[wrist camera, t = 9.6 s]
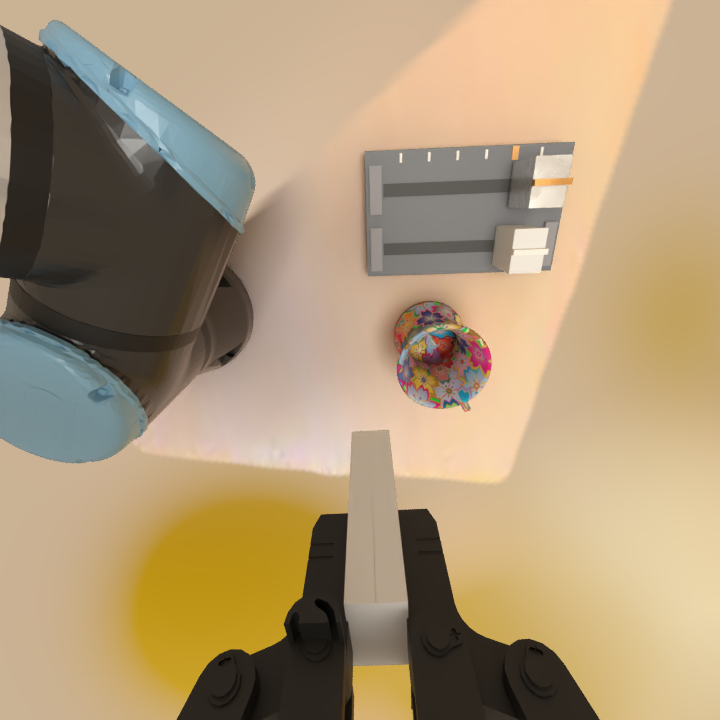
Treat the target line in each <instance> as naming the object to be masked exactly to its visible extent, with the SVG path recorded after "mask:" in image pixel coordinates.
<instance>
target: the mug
mask: <svg viewBox="0 0 720 720" xmlns="http://www.w3.org/2000/svg"><path fill="white" fill-rule="evenodd" d="M394 337H395V344H396V347H397V349H398V351H399V353H400V356H399V359H398V364H397V376H398V380H399V383H400V386H401V387H402V389H403V391H404V392H405V393H406V395H407V396H408V397H410V398H411V399H412V400H413V401H415V402H416V403H418V404H420V405H423V406H426V407H429V408H437V409H444V408H451V407H455V406H458V405H461V406H462V408H463V410H464V411H465V412H467V411H469V410H470V409H471V408H470V406H469V404H468V402H467V401H469V400H470V399H472V398H473V397H474V396H476V395H477V394H478V393H479V392H480V391H481V389H482V388H483V387H484V385H485V384H486V382H487V380H488V378H489V375H490V371H491V354H490V351H489V348H488V346H487V344H486V343H485V341H484V340H483V339H482V338H481V337H480V336H479V335H478V334H477V333H476V332H474V331H473V330H471V329H469V328H467V327H464V326H463V325H462V322H461V319H460V317H459V316H458V314H457V313H456V312H455V311H454V310H453V309H452V308H450V307H449V306H447V305H445V304H442V303H438V302H425V303H420V304H418V305H415V306H413V307H412V308H410V309H409V310H407V311H406V312H405V313H404V314H403V315H402V317H401V318H400V319H399V321H398V323H397V326H396V329H395V336H394Z"/></svg>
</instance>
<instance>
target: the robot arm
mask: <svg viewBox="0 0 720 720" xmlns="http://www.w3.org/2000/svg"><path fill="white" fill-rule="evenodd" d="M39 40H40V41H41V42H42V43H43V46H39V45H36V44H34V43H32V42H30V41H29V40H27V39H25V38H23V37H21V36H19V35H18V34H16V33H14V32H12V31H10V30H8V29H6V28H4V27H3V26H1V25H0V277H2V278H10V279H11V280H10V287H9V292H8V300H7V307H6V311H5V312H4V314H3V315H2V316H1V317H0V438H1V439H3V440H5V441H6V442H8V443H10V444H12V445H14V446H15V447H18V448H19V449H22V450H24V451H26V452H29V453H31V454H34V455H36V456H40V457H43V458H46V459H50V460H54V461H59V462H65V463H85V462H89V461H91V462H94V461H100V460H104V459H107V458H109V457H111V456H113V455H115V454H116V453H118V452H119V451H121V450H122V449H123V448H124V447H126V446H127V445H128V444H129V443H130V442H131V441H133V440H134V439H136V438H138V437H140V436H141V435H142V434H143V433H144V432H145V431H146V429H147V427H148V425H149V424H150V423H151V422H152V421H153V420H154V419H155V418H156V417H157V416H158V415H159V414H160V413H161V412H162V411H163V410H164V409H165V408H166V407H167V406H168V405H169V404H170V402H171V401H172V400H173V399H174V398H175V397H176V396H177V395H178V394H179V393H180V392H181V391H182V390H183V389H184V388H185V387H186V386H187V385H188V384H189V383H190V382H191V381H192V380H193V379H194V378H195V377H196V376H197V375H199V374H202V373H205V372H208V371H212V370H215V369H218V368H220V367H222V366H224V365H226V364H227V363H229V362H230V361H231V360H233V359H234V358H235V357H236V356H237V355H238V354H239V352H240V351H241V350H242V349H243V348H244V346H245V345H246V343H247V342H248V340H249V337H250V335H251V331H252V327H253V310H252V305H251V301H250V298H249V296H248V293H247V291H246V289H245V287H244V286H243V284H242V282H241V281H240V280H239V278H238V277H237V276H236V275H235V274H234V272H233V271H232V270H231V269H230V268H228V267H227V266H226V265H227V262H228V260H229V257H230V255H231V252H232V250H233V247H234V245H235V242H236V240H237V237H238V235H239V234H243V232H244V226H243V222H244V220H245V217H246V214H247V211H248V208H249V205H250V202H251V199H252V196H253V193H254V190H255V177H254V173H253V171H252V168H251V166H250V164H249V163H248V161H247V160H246V159H245V158H244V157H243V156H242V155H241V154H239V153H238V152H237V151H236V150H234V149H233V148H232V147H230V146H229V145H228V144H226V143H225V142H224V141H222V140H221V139H220V138H218V137H217V136H216V135H214V134H213V133H212V132H210V131H209V130H207V129H206V128H205V127H204V126H202V125H201V124H199V123H198V122H197V121H195V120H194V119H193V118H191V117H190V116H188V115H187V114H186V113H184V112H183V111H182V110H180V109H179V108H178V107H176V106H175V105H174V104H172V103H171V102H170V101H168V100H167V99H165V98H164V97H163V96H161V95H160V94H159V93H157V92H156V91H155V90H153V89H152V88H150V87H149V86H148V85H146V84H145V83H144V82H142V81H141V80H140V79H138V78H137V77H135V76H134V75H133V74H132V73H130V72H129V71H128V70H126V69H125V68H124V67H122V66H121V65H119V64H118V63H117V62H115V61H114V60H112V59H111V58H110V57H109V56H107V55H106V54H105V53H103V52H102V51H101V50H99V49H98V48H97V47H95V46H94V45H93V44H91V43H90V42H89V41H87V40H86V39H85V38H83V37H82V36H81V35H79V34H78V33H77V32H75V31H74V30H72V29H71V28H70V27H68V26H67V25H66V24H64V23H63V22H60V21H58V20H52V21H50V22H49V23H48V25H47V27H46V29H42V30H40V32H39ZM284 626H285V629H286V633H287V636H286V637H285V638H283V639H282V640H281V641H279V642H278V643H276V644H274V645H272V646H270V647H268V648H265V649H263V650H261V651H258V652H256V653H254V654H251V655H249V654H248V653H246V652H244V651H243V650H236V649H235V650H232V649H231V650H228V651H226V652H223V653H221V654H219V655H218V656H217V657H216V658H214V659H213V660H212V661H211V662H210V663H209V664H208V665H207V666H206V668H205V669H204V671H203V672H202V674H201V675H200V677H199V679H198V680H197V682H196V684H195V686H194V688H193V690H192V692H191V694H190V695H189V697H188V699H187V701H186V703H185V705H184V707H183V709H182V711H181V713H180V714H179V716H178V718H177V720H354V694H353V686H352V678H353V666H369V665H401V664H402V665H404V664H409V670H410V680H411V708H412V709H413V720H599V718H598V716H597V715H596V713H595V712H594V710H593V708H592V707H591V706H590V704H589V702H588V701H587V699H586V697H585V696H584V694H583V693H582V691H581V690H580V688H579V687H578V685H577V683H576V682H575V680H574V679H573V677H572V676H571V674H570V672H569V671H568V670H567V668H566V666H565V665H564V663H563V662H562V661H561V660H560V658H559V657H558V656H557V655H556V654H555V652H553V651H552V650H550V649H549V648H548V647H546V646H545V645H544V644H542V643H540V642H537V641H534V640H531V639H522V640H517V641H516V642H514V643H513V644H511V645H510V646H509V645H506V644H503V643H500V642H498V641H494V640H492V639H489V638H486V637H484V636H482V635H480V634H478V633H476V632H475V631H473V630H472V629H471V628H470V627H468V625H467V624H466V623H465V622H464V621H463V620H462V618H461V617H460V615H459V613H458V611H457V609H456V606H455V603H454V599H453V594H452V590H451V585H450V581H449V577H448V572H447V568H446V563H445V559H444V554H443V550H442V545H441V541H440V537H439V532H438V528H437V523H436V521H435V520H434V518H433V517H432V515H431V514H430V513H429V511H428V510H427V509H414V510H413V509H412V510H398V508H397V500H396V491H395V481H394V472H393V463H392V454H391V445H390V436H389V430H378V431H360V432H352V442H351V463H350V485H349V505H348V513H346V514H324V515H321V516H320V517H319V519H318V521H317V522H316V524H315V526H314V528H313V531H312V538H311V547H310V551H309V560H308V564H307V571H306V578H305V584H304V591H303V597H302V598H301V599H299V600H298V601H297V602H295V604H294V605H293V606H292V608H291V609H290V610H289V612H288V614H287V617H286V619H285V622H284Z"/></svg>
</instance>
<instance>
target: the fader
mask: <svg viewBox="0 0 720 720" xmlns="http://www.w3.org/2000/svg"><path fill="white" fill-rule="evenodd" d="M572 159H573V154H569V155H546V156H534V157H531V158H527V159H523V160H520V161H516V162H513V170H512V178H511V185H510V193H509V200H508V208H552V207H563V206H564V201H565V195H566V190H567V185H570V184H572V181H573V178H569V175H570V169H571V164H572Z"/></svg>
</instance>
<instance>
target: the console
mask: <svg viewBox="0 0 720 720" xmlns="http://www.w3.org/2000/svg"><path fill="white" fill-rule="evenodd" d="M574 145H575V142H561V143H539V144H517V145H495V146H473V147H450V148H428V149H406V150H384V151H365V182H366V220H367V258H368V276H390V275H421V274H451V273H482V272H506V273H508V274H517V273H541V271H543V270H551V265H552V259H553V254H554V249H555V244H556V239H557V233H558V228H559V223H560V218H561V212H562V207H552V208H508V200H509V193H510V185H511V178H512V170H513V162H516V161H520V160H523V159H527V158H531V157H534V156H546V155H569V154H573V150H574Z"/></svg>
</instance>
